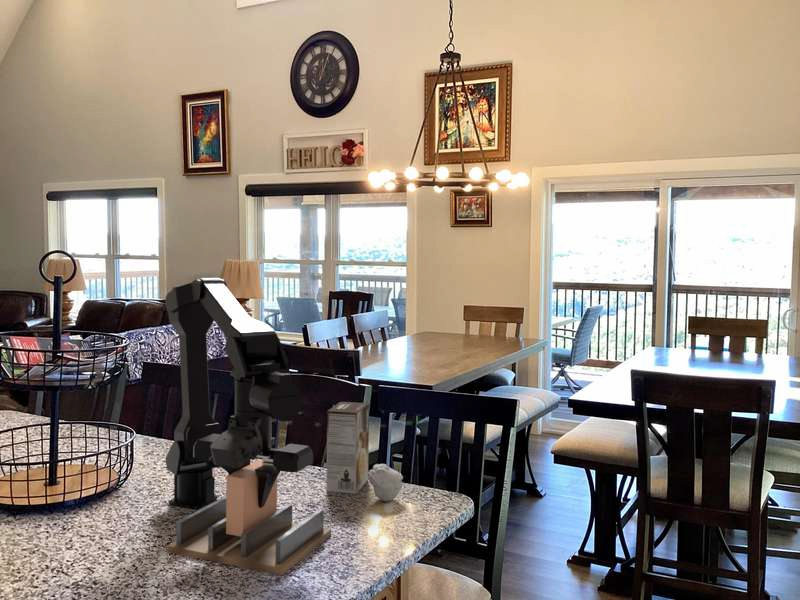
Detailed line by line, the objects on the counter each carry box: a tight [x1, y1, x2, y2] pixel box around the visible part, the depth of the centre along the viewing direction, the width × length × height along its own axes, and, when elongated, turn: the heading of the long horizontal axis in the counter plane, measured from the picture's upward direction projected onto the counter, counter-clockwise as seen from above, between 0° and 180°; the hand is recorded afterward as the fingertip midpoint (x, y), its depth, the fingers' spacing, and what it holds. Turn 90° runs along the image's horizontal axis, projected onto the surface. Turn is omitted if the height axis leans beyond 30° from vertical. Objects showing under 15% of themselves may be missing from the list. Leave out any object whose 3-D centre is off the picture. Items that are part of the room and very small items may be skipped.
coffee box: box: [325, 401, 370, 495], centre depth 143 cm, size 9×6×16 cm
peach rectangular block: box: [225, 459, 278, 536], centre depth 114 cm, size 3×10×9 cm, turn 160°
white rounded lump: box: [367, 463, 404, 502], centre depth 135 cm, size 6×7×7 cm
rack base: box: [166, 522, 332, 576], centre depth 114 cm, size 20×16×1 cm
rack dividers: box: [175, 495, 325, 564], centre depth 114 cm, size 18×14×4 cm
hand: (252, 505), depth 114 cm, fingers closed on peach rectangular block, 3 cm apart
